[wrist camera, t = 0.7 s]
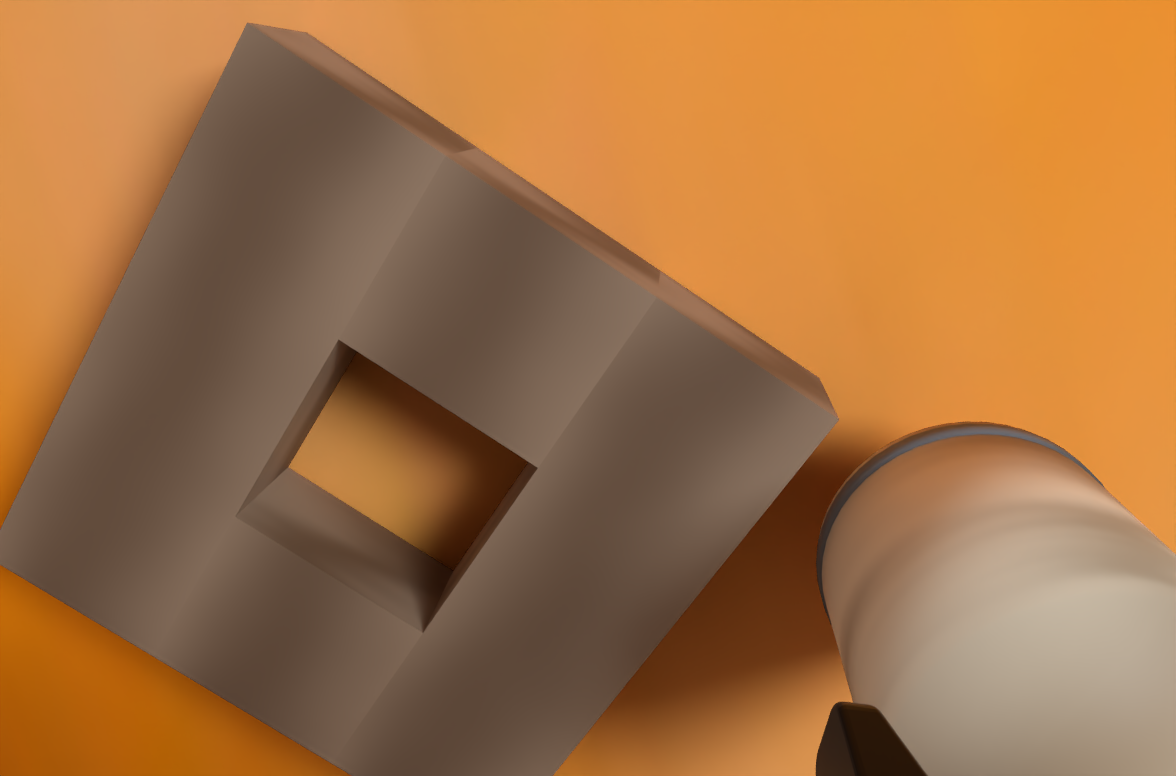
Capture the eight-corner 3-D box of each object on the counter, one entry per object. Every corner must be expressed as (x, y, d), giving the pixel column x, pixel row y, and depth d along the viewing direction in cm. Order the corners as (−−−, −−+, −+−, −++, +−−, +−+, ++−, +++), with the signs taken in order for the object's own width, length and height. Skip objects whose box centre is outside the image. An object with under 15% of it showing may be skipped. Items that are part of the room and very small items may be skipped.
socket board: (819, 377, 22) (839, 419, 19) (508, 774, 26) (487, 857, 23) (306, 32, 21) (247, 22, 18) (66, 504, 25) (-14, 556, 22)
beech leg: (1117, 473, 22) (1430, 746, 13) (946, 655, 24) (1113, 1012, 15) (907, 329, 22) (1076, 505, 12) (749, 527, 24) (792, 811, 14)
